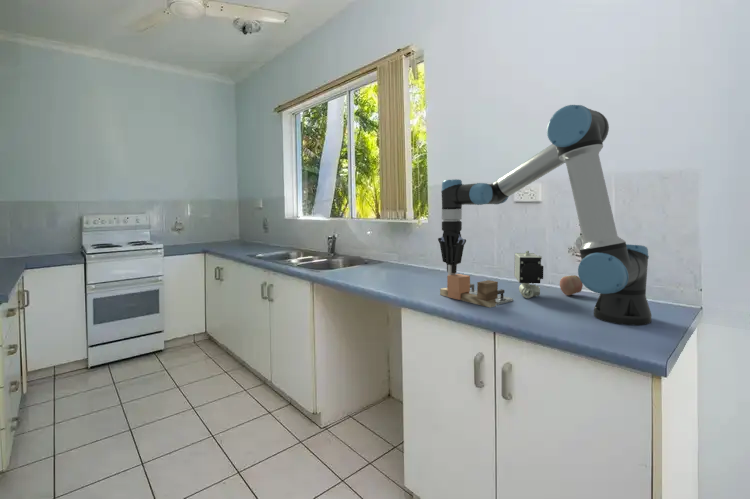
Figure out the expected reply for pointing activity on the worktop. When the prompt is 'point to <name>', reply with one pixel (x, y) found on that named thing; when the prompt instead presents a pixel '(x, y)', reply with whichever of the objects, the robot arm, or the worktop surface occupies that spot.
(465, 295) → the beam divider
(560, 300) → the worktop surface
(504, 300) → the flange strip
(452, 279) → the block
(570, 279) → the tan rounded lump
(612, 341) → the worktop surface
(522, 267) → the ball valve
